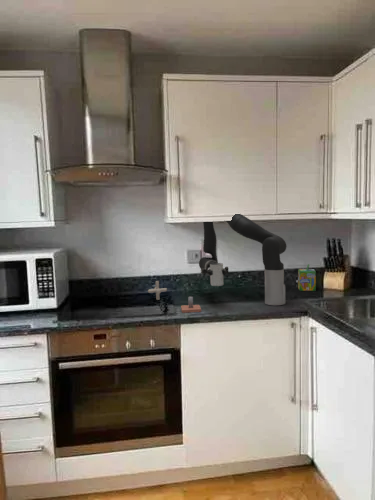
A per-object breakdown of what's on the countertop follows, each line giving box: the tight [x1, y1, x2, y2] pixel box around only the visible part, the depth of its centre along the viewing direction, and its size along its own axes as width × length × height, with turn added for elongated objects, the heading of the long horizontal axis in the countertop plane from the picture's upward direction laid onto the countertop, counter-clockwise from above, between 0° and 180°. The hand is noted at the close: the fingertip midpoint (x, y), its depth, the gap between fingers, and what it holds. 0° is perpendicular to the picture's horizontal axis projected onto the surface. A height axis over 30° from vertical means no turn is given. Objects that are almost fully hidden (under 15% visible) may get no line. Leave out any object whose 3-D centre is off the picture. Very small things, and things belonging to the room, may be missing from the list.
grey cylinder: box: [209, 262, 225, 287], centre depth 178 cm, size 6×6×10 cm
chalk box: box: [297, 263, 317, 292], centre depth 215 cm, size 9×9×15 cm
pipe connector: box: [147, 280, 168, 301], centre depth 203 cm, size 10×10×10 cm
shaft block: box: [180, 296, 202, 314], centre depth 178 cm, size 9×9×6 cm
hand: (217, 272), depth 176 cm, fingers closed on grey cylinder, 6 cm apart
